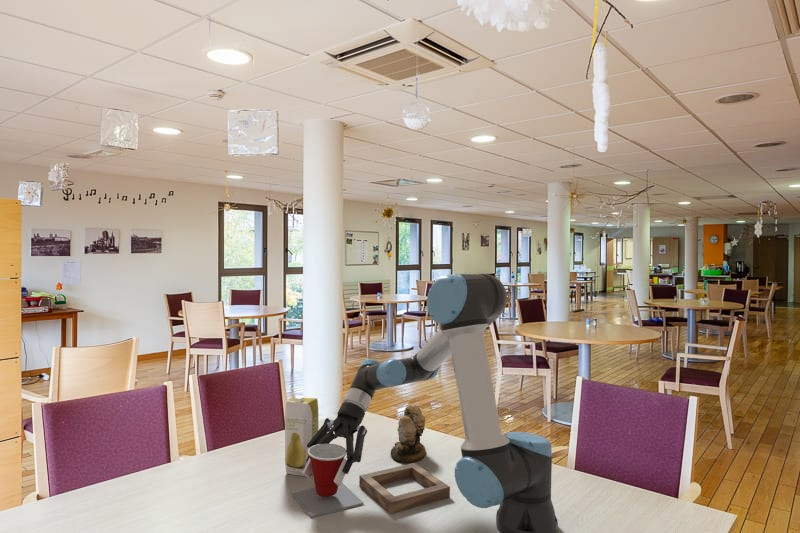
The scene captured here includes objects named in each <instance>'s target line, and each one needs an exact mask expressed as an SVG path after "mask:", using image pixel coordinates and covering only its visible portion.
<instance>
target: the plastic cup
mask: <svg viewBox="0 0 800 533" xmlns="http://www.w3.org/2000/svg"><path fill="white" fill-rule="evenodd" d="M308 454H309V456H310V461H311V466H312V472H313V473H312V477H313V482H314V488H315V489H316V492H317V495H319V496H322V497H329V496H333V495H335V494H336V493H337V490H338V485H337V484H336V483H335V482H334V479H335V477H336V475H337V472H338V470H339V468H340V466H341V464H342V461H343V459H345V458H346V457H347V450H346V448H345V447H343V446H342V445H339V444H335V443H329V444H318V445H314V446H312V447H310V448H309V449H308Z"/></svg>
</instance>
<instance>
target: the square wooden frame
mask: <svg viewBox="0 0 800 533" xmlns="http://www.w3.org/2000/svg"><path fill="white" fill-rule="evenodd" d="M410 478H412V479H414V480H416V481H417V482H418V483H419V484H420V485H422V486H424V487H425V488H421V489H417V490H415V491H414V490H413V491H410V492H409V491H408V492H407V493H402V494H397V495H394V494H393V493H391V492H390V491H389V490H387V489H386V488H385V487H384V486H383V485H385V484H389V483H394V482H397V481H402V480H405V479H410ZM358 479H359V481H358V482H359V486H360V488H362V490H364V491H365V492H366V494H368V495H369V496H371V497H372V498H373V499H374V500H375V501H376V502H377V503H379V505H381V507H382V508H384V509H385V510H386V511H387V512H388V513H389V514H394V513H399V512H402V511H406V510H409V509H413V508H416V507H420V506H423V505H427V504H431V503H434V502H439V501H441V500H444V499H445V500H446V499H448V498H449V499H450V497H451V486H449V485H448V484H447V483H445V482H443V481H442V480H441V479H440V478H438V477H436V476H435V475H433V474H432V473H430V472H429V471H427V469H424V468H423V467H422V466H420V465H418V464H417V463H416V462H415V463H407V464H405V465H400V466H399V465H398V466H395V467H391V468H387V469H382V470H376V471H373V472H369V473H364V474H359V478H358Z"/></svg>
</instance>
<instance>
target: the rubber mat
mask: <svg viewBox="0 0 800 533" xmlns="http://www.w3.org/2000/svg"><path fill="white" fill-rule="evenodd" d="M291 494H292V496H293V497H294V498H295V500H296V501H297V502H298V504H299V505H300V506H301V507H302V508H303V509H304V511H305V512H306V514H308V516H309V517H310V518H316V517H320V516H324V515H328V514H332V513H335V512H336V513H337V512H339V511H343V510H347V509H352V508H354V507H355V508H356V507H360V506H363V505H365V504H364V503H365V502H363V501H362V500H361V498H359V497H358V496H357V495H356V493H355V492H353V491H352V490H351V489H350V488H349V487H348V486H347V485H345V483H343V482H342V483H341V485H340V486H338V490H337V493H336V494H335V495H333V496H329V497H322V496H319V495H317V492H316V489H315V487H312V488H307V489H304V490H303V489H302V490H298V491H293V492H292V493H291Z"/></svg>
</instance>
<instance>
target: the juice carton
mask: <svg viewBox="0 0 800 533" xmlns="http://www.w3.org/2000/svg"><path fill="white" fill-rule="evenodd" d="M284 414H285V415H284V419H285V420H284V466H285V473H286V474H288V475H293V476H294V475H295V476H301V477H306V476H305V475H304V474H303V473H302V472H303V470H304V468H305V466H306V464H307V462H306V460H307V458H308V456H309V454H308V449H309V448H308V447H307V444H308V443H309V442H310V440H311V439H312V438H313V437H314V435H315V434H316V433H317V432H318V430H319V402H318V398H317V397H305V396H304V395H296V396H293V397H292V398H290V399H287V400H286V401H285V408H284ZM310 475H313V472H311V474H310ZM306 478H307V477H306Z"/></svg>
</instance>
